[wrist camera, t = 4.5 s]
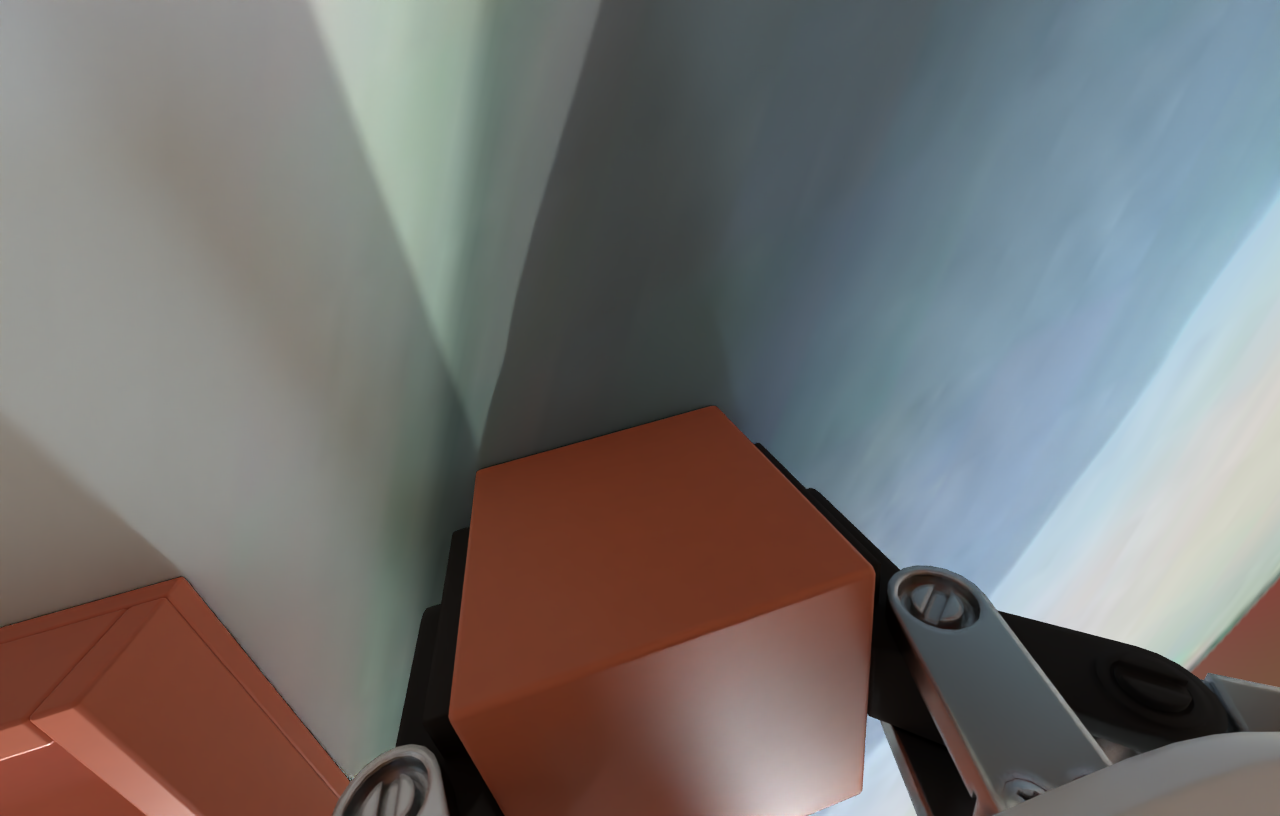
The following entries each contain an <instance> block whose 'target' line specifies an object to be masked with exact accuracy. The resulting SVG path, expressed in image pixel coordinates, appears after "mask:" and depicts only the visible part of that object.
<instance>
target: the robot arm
mask: <svg viewBox="0 0 1280 816" xmlns="http://www.w3.org/2000/svg"><path fill="white" fill-rule="evenodd" d="M754 445H755V446H756V447H757V448H758V449H759V450H760V451H761V452H762V453H763V454H764V455H765V456H766V457H767V459H768V460H769V461H770V462H771V463H772V464H773V465H774V466H775V467H776V468H777V469H778V470H779V471H780V472H781V473H782V474H783V475H784V476H785V477H786V478H787V479H788V480H789V481H790V482H791V483H792V484H793V485H794V486H795V487H796V488H797V489H798V490H799V491H800V492H801V493H802V494H803V495H804V496H805V497H806V498H807V499H808V500H809V501H810V503H811V504H812V505H813V506H814V507H815V508H816V509H817V510H818V511H819V512H820V513H821V514H822V515H823V516H824V517H825V518H826V519H827V520H828V521H829V522H830V523H831V524H832V525H833V526H834V527H835V528H836V529H837V530H838V531H839V532H840V533H841V534H842V535H843V536H844V537H845V538H846V539H847V540H848V541H849V542H850V543H851V544H852V546H853V547H854V548H855V549H856V550H857V551H858V552H859V553H860V554H861V555H862V556H863V557H864V558H865V559H866V560H867V561H868V562H869V563H870V564H871V565H872V566H873V568H874V571H875V573H876V577H875V593H874V609H873V625H872V641H871V657H870V674H869V690H868V706H867V714H868V715H869V716H871V717H873V718H876V719H878V720H880V722H881V725H882V727H883V730H884V732H885V735H886V737H887V740H888V743H889V745H890V748H891V750H892V753H893V755H894V758H895V760H896V763H897V765H898V768H899V770H900V773H901V775H902V778H903V781H904V783H905V786H906V788H907V791H908V793H909V796H910V798H911V801H912V803H913V806H914V808H915V811H916V814H917V816H1280V688H1279V687H1274V686H1269V685H1265V684H1260V683H1254V682H1249V681H1245V680H1240V679H1235V678H1230V677H1226V676H1221V675H1215V674H1211V673H1208V674H1207V676H1206V678H1205V680H1200V679H1199V678H1198V677H1196V676H1195V675H1193V674H1192V673H1190V672H1189V671H1188V670H1186V669H1185V668H1183V667H1182V666H1180V665H1179V664H1177V663H1175V662H1173V661H1171V660H1169V659H1167V658H1165V657H1163V656H1161V655H1159V654H1157V653H1154V652H1151V651H1149V650H1146V649H1143V648H1140V647H1137V646H1133V645H1129V644H1126V643H1122V642H1118V641H1114V640H1110V639H1106V638H1102V637H1098V636H1094V635H1091V634H1087V633H1083V632H1079V631H1075V630H1071V629H1067V628H1063V627H1059V626H1056V625H1052V624H1048V623H1044V622H1040V621H1036V620H1032V619H1028V618H1024V617H1021V616H1017V615H1013V614H1009V613H1005V612H1001V611H997V610H996V608H995V607H994V606H993V604H992V603H991V602H990V600H989V599H988V598H987V596H986V595H985V594H984V593H983V592H982V591H981V590H980V589H979V588H978V587H977V586H976V585H975V584H974V583H972V582H971V581H969V580H968V579H966V578H964V577H963V576H961V575H959V574H957V573H954V572H952V571H949V570H947V569H943V568H938V567H934V566H912V567H908V568H903V569H902V570H900V569H899V568H898V567H897V566H896V565H894V564H893V563H892V562H891V561H890V560H889V559H888V558H887V557H886V556H885V555H884V554H883V553H882V552H881V551H880V550H879V549H878V548H877V547H876V546H875V545H874V544H873V543H872V542H871V541H870V540H869V539H867V538H866V537H865V536H864V535H863V534H862V533H861V532H860V531H859V530H858V529H857V528H856V527H855V526H854V525H853V524H852V523H851V522H850V521H849V520H848V519H847V518H846V517H845V516H844V515H843V514H841V513H840V512H839V511H838V510H837V509H836V508H835V507H834V506H833V505H832V504H831V503H830V502H829V501H828V500H827V499H826V498H825V497H824V496H823V495H822V494H821V493H819V492H818V491H817V490H815V489H812V488H809V489H806V488H805V487H804V486H803V485H802V484H801V483H800V482H799V481H798V480H797V479H796V478H795V477H794V476H793V475H792V474H791V473H790V472H789V471H788V470H787V469H786V468H785V467H784V466H783V465H782V464H781V463H779V462H778V461H777V460H776V459H775V458H774V457H773V456H772V455H771V454H770V453H769V452H768V451H767V450H766V449H765V448H764V447H763V446H762V445H761V444H760V443H754ZM469 532H470V527H468V528H464V529H461V530H457V531H454V532H453V535H452V540H451V546H450V552H449V559H448V565H447V571H446V577H445V583H444V589H443V596H442V602H441V604H439V605H436V606H432V607H429V608H427V609H426V610H425V611H424V613H423V616H422V619H421V624H420V629H419V634H418V639H417V643H416V648H415V653H414V658H413V663H412V668H411V673H410V678H409V683H408V688H407V693H406V698H405V703H404V708H403V713H402V718H401V722H400V727H399V732H398V737H397V742H396V747H395V748H393V749H391V750H389V751H387V752H385V753H383V754H381V755H379V756H378V757H377V758H375V759H374V760H373V761H371V762H370V763H369V764H367V765H366V766H365V767H364V768H363V769H362V770H361V771H360V772H359V773H358V774H357V775H356V776H355V777H354V779H353V780H352V781H351V782H350V783H349V784H348V786H347V787H346V789H345V790H344V792H343V793H342V795H341V796H340V798H339V799H338V801H337V803H336V806H335V808H334V810H333V813H332V815H331V816H505V815H504V814H503V812H502V810H501V809H500V807H499V805H498V803H497V802H496V800H495V798H494V797H493V795H492V793H491V791H490V790H489V788H488V786H487V784H486V783H485V781H484V779H483V778H482V776H481V774H480V772H479V771H478V769H477V767H476V766H475V764H474V762H473V760H472V759H471V757H470V755H469V754H468V752H467V750H466V748H465V747H464V745H463V743H462V742H461V740H460V738H459V736H458V735H457V733H456V731H455V729H454V728H453V726H452V724H451V723H450V720H449V717H448V716H449V707H450V698H451V689H452V680H453V672H454V663H455V654H456V645H457V637H458V628H459V619H460V610H461V602H462V593H463V584H464V575H465V567H466V558H467V549H468V540H469Z"/></svg>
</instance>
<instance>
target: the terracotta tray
mask: <svg viewBox="0 0 1280 816" xmlns="http://www.w3.org/2000/svg"><path fill="white" fill-rule="evenodd" d="M349 783H350V781H349V780H348V778H347V777H346V776H345V775H344V774H343V772H342V771H341V770H340V769H339V767H338V766H337V765H336V764H335V762H334V761H333V760H332V759H331V758H330V756H329V755H328V754H327V753H326V751H325V750H324V749H323V748H322V746H321V745H320V744H319V743H318V742H317V740H316V739H315V738H314V737H313V735H312V734H311V733H310V732H309V730H308V729H307V728H306V727H305V725H304V724H303V723H302V722H301V721H300V719H299V718H298V717H297V716H296V714H295V713H294V712H293V711H292V709H291V708H290V707H289V706H288V705H287V703H286V702H285V701H284V700H283V698H282V697H281V696H280V695H279V693H278V692H277V691H276V690H275V689H274V687H273V686H272V685H271V684H270V682H269V681H268V680H267V679H266V677H265V676H264V675H263V674H262V673H261V671H260V670H259V669H258V668H257V666H256V665H255V664H254V663H253V661H252V660H251V659H250V658H249V657H248V655H247V654H246V653H245V652H244V650H243V649H242V648H241V647H240V645H239V644H238V643H237V642H236V640H235V639H234V638H233V637H232V636H231V634H230V633H229V632H228V631H227V629H226V628H225V627H224V626H223V624H222V623H221V622H220V621H219V620H218V618H217V617H216V616H215V615H214V613H213V612H212V611H211V610H210V608H209V607H208V606H207V605H206V604H205V602H204V601H203V600H202V599H201V597H200V596H199V595H198V594H197V592H196V591H195V590H194V589H193V588H192V586H191V585H190V584H189V583H188V581H187V580H186V579H185V578H184V577H178V578H175V579H171V580H168V581H164V582H161V583H157V584H154V585H150V586H147V587H143V588H140V589H136V590H132V591H129V592H125V593H122V594H118V595H115V596H111V597H108V598H104V599H101V600H97V601H94V602H90V603H87V604H83V605H79V606H76V607H72V608H69V609H65V610H62V611H58V612H55V613H51V614H48V615H44V616H41V617H37V618H34V619H30V620H27V621H23V622H19V623H16V624H12V625H9V626H5V627H2V628H0V816H331V815H332V813H333V810H334V808H335V806H336V803H337V801H338V799H339V798H340V796H341V795H342V793H343V792H344V790H345V789H346V787H347V786H348V784H349Z"/></svg>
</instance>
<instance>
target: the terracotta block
mask: <svg viewBox="0 0 1280 816" xmlns="http://www.w3.org/2000/svg"><path fill="white" fill-rule="evenodd" d="M875 577H876V573H875V571H874V568H873V566H872V565H871V564H870V563H869V562H868V561H867V560H866V559H865V558H864V557H863V556H862V555H861V554H860V553H859V552H858V551H857V550H856V549H855V548H854V547H853V546H852V544H851V543H850V542H849V541H848V540H847V539H846V538H845V537H844V536H843V535H842V534H841V533H840V532H839V531H838V530H837V529H836V528H835V527H834V526H833V525H832V524H831V523H830V522H829V521H828V520H827V519H826V518H825V517H824V516H823V515H822V514H821V513H820V512H819V511H818V510H817V509H816V508H815V507H814V506H813V505H812V504H811V503H810V501H809V500H808V499H807V498H806V497H805V496H804V495H803V494H802V493H801V492H800V491H799V490H798V489H797V488H796V487H795V486H794V485H793V484H792V483H791V482H790V481H789V480H788V479H787V478H786V477H785V476H784V475H783V474H782V473H781V472H780V471H779V470H778V469H777V468H776V467H775V466H774V465H773V464H772V463H771V462H770V461H769V460H768V459H767V457H766V456H765V455H764V454H763V453H762V452H761V451H760V450H759V449H758V448H757V447H756V446H755V445H754V444H753V443H752V442H751V441H750V440H749V439H748V438H747V437H746V436H745V435H744V434H743V433H742V432H741V431H740V430H739V429H738V428H737V427H736V426H735V425H734V424H733V423H732V422H731V421H730V420H729V419H728V418H727V417H726V416H725V414H724V413H723V412H722V411H721V410H720V409H719V408H718V407H717V406H709V407H705V408H702V409H698V410H694V411H691V412H687V413H684V414H680V415H676V416H673V417H669V418H666V419H662V420H658V421H655V422H651V423H647V424H644V425H640V426H637V427H633V428H629V429H626V430H622V431H618V432H615V433H611V434H608V435H604V436H600V437H597V438H593V439H589V440H586V441H582V442H579V443H575V444H571V445H568V446H564V447H561V448H557V449H553V450H550V451H546V452H542V453H539V454H535V455H532V456H528V457H524V458H521V459H517V460H513V461H510V462H506V463H503V464H499V465H495V466H492V467H488V468H485V469H481V470H479V471H477V472H476V479H475V488H474V497H473V505H472V514H471V523H470V532H469V540H468V549H467V558H466V567H465V575H464V584H463V593H462V602H461V610H460V619H459V628H458V637H457V645H456V654H455V663H454V672H453V680H452V689H451V698H450V707H449V716H448V717H449V720H450V723H451V724H452V726H453V728H454V729H455V731H456V733H457V735H458V736H459V738H460V740H461V742H462V743H463V745H464V747H465V748H466V750H467V752H468V754H469V755H470V757H471V759H472V760H473V762H474V764H475V766H476V767H477V769H478V771H479V772H480V774H481V776H482V778H483V779H484V781H485V783H486V784H487V786H488V788H489V790H490V791H491V793H492V795H493V797H494V798H495V800H496V802H497V803H498V805H499V807H500V809H501V810H502V812H503V814H504V815H505V816H809V815H811V814H813V813H816V812H818V811H820V810H823V809H825V808H827V807H830V806H832V805H835V804H837V803H839V802H842V801H844V800H846V799H849V798H851V797H853V796H856V795H858V794H860V793H861V791H862V786H863V770H864V754H865V738H866V722H867V706H868V690H869V674H870V657H871V641H872V625H873V609H874V593H875Z"/></svg>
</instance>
